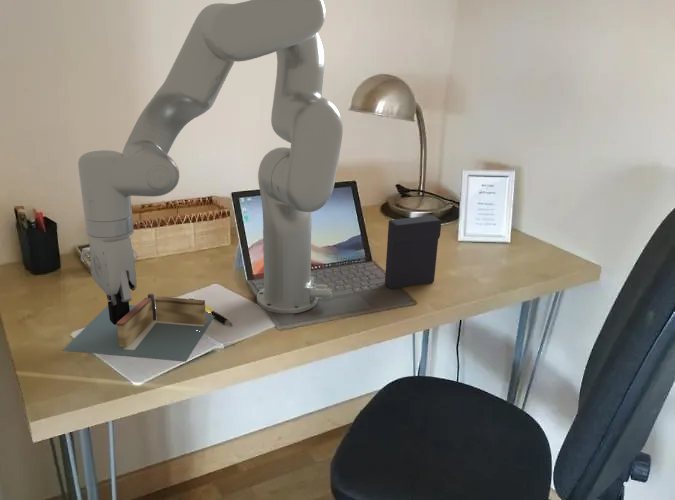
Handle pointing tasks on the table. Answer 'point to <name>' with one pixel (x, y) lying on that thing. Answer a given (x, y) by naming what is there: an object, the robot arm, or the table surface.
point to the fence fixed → (178, 310)
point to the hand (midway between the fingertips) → (120, 320)
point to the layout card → (140, 339)
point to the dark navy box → (412, 251)
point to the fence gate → (134, 322)
